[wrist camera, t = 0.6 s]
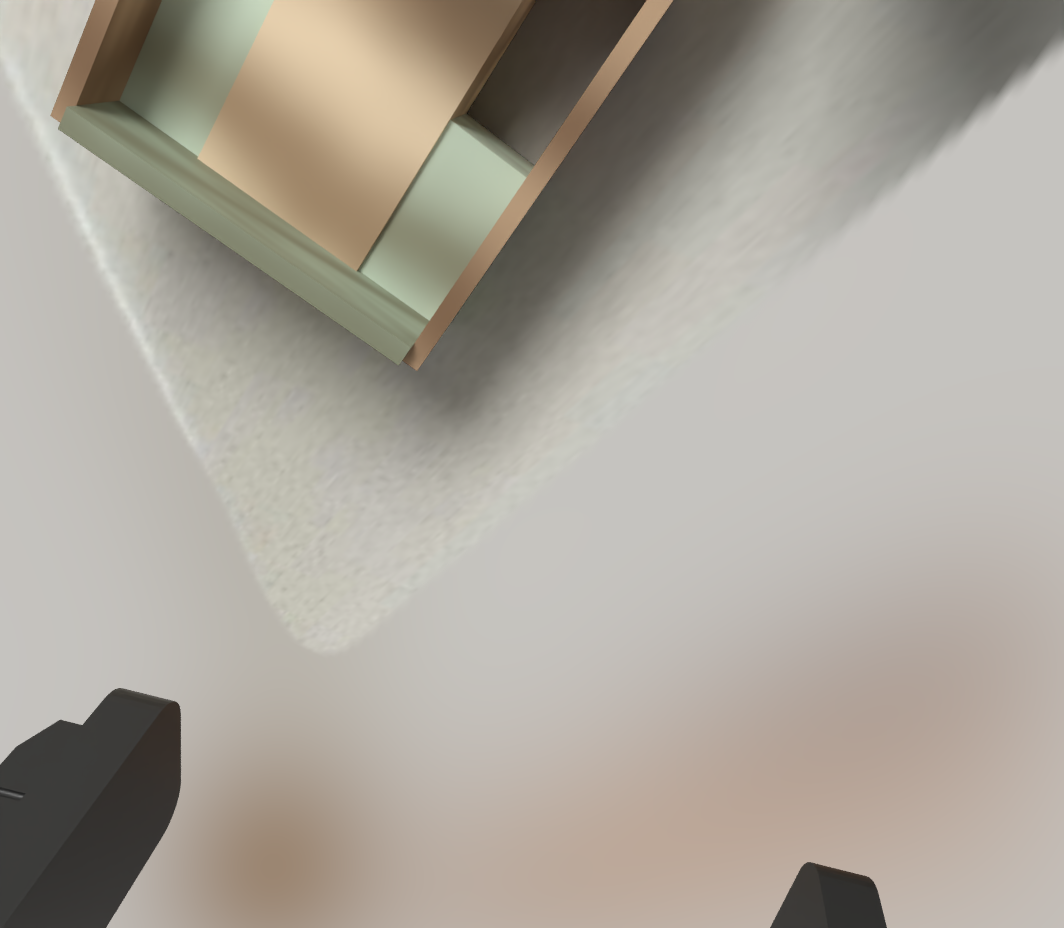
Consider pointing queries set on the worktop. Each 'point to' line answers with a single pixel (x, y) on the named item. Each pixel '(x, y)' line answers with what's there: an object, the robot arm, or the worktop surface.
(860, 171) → the worktop surface
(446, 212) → the wooden organizer box
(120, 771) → the robot arm
